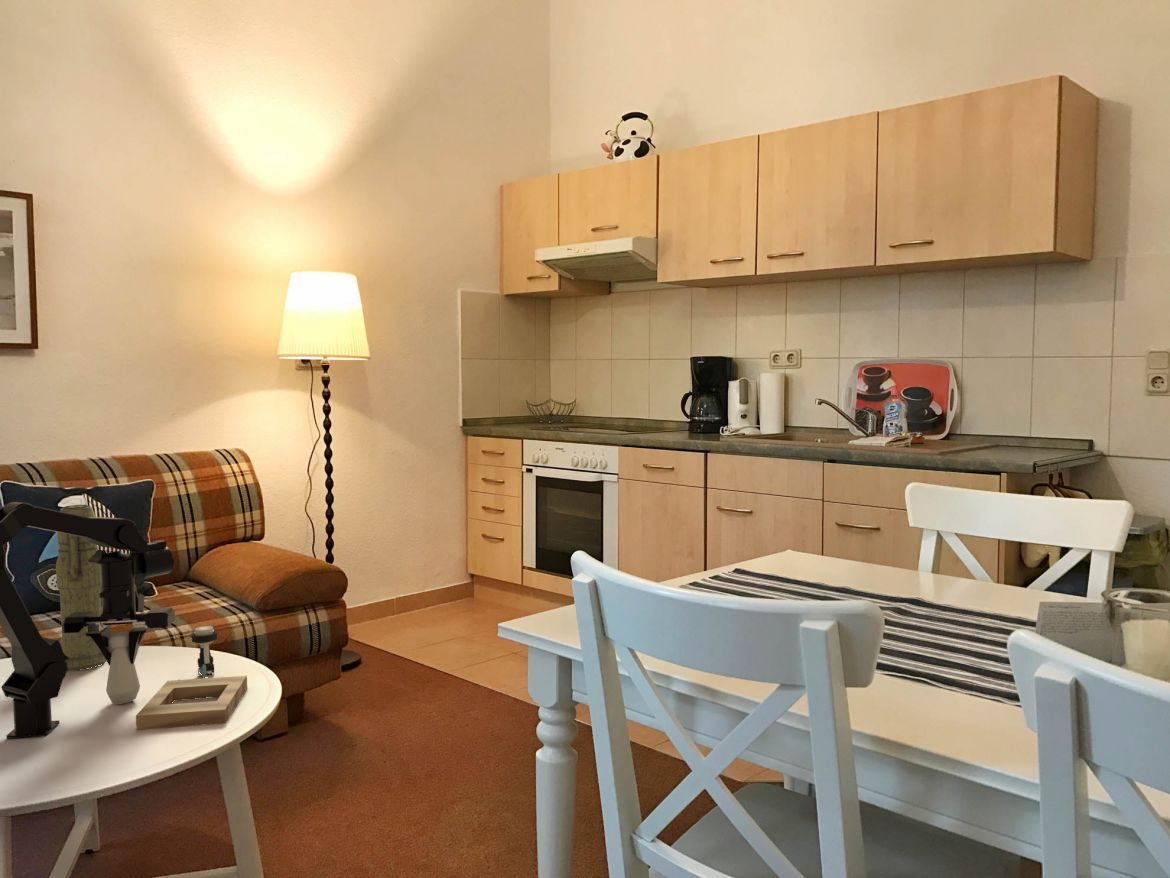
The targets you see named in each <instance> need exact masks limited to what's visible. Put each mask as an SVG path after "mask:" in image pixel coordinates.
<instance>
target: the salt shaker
mask: <svg viewBox="0 0 1170 878" xmlns="http://www.w3.org/2000/svg"><path fill="white" fill-rule="evenodd" d="M108 645H109V647H111V648H112V654H111V662H110V665H109V668H108V675H107V681H106V688H105V691H106V694H107V696H108V698H109V700H110V703H112V704H117V705H119V704H120V705H121V704H127V703H131V702H133V701H134V700H136V699H137V697H138V693H139V691H140V687H141V684H140V681H139V676H138V673H137V668H136V665H135V662H134V663H133V664H131V662H130V658H129V631H120V632H114V633H112V634H111V635H110V636H109V637H108Z"/></svg>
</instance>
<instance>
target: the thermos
mask: <svg viewBox="0 0 1170 878" xmlns="http://www.w3.org/2000/svg"><path fill="white" fill-rule="evenodd" d="M59 511H60V512H65V513H70V514H75V515H79V516H84V517H97V516H96V514H95V511H94V510H93V506H89V504H71V505H66V506H63V507H61V508H60V509H59ZM56 534H57V535H56V536H57V544H58V547H59V548H58V552H57V553H58V555H57V559H56V562H55V572H56V573H55V576H56V577H55V578H56V589H57V590H58V592H59V603H60V621H61V622H60V623H61V625H62V622H63V620H64V619H65V618H66V617H67V616H69V615H70V614H72V613H74V612H86V611H93V612H94V614H95V616H101V614H102V598H100V592H101V572H100V564H94V563H89V562H88V560H89V559H90V558H91V557H92V556H93V555H94V554H95V553H96V551H97V550H99V546H98V545H96V544H93V543H91V542H88V541H86V540H84V539H83V538H80V537H78V536H75V535H70V534H65V533H59V532H56ZM85 633H87V626H84V628H83V629H82V630H81V631H80V632H77V633H62V632H61V639H60V641H59V642H60V644H61V647H62V650H63V653H64V654H65V655H66V656H67V657H69V659H68V660H65V661H66V662H67V665H68V671H69V670H76V671H81V670H80V669H86V668H91V667H95V666H98V665H101V664H103V663H105V662H106V663H107V661H106V659H105V657H104V656H103V654H102V652H101V650H100V649H99V647H98V646H97V644H96V643H95V642H94V641H93V639H92V638H91V637H90V636H86V635H85ZM106 663H105V664H106ZM101 666H102V665H101ZM95 668H96V667H95ZM91 669H92V668H91ZM86 670H87V669H86Z"/></svg>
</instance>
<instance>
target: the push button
mask: <svg viewBox="0 0 1170 878" xmlns="http://www.w3.org/2000/svg"><path fill="white" fill-rule="evenodd" d="M218 634H219V631H218V630H217V629H214V626H212V625H211V626H210V625H206V626H205V625H204V626H199V627H196V628H195V629H194V632H191V633H190V634H189V635H190V638H191V642H192V643H195V645H200V647H199V657H198V658H197V667H198V668H197V676H198V675H199V676H200V673H201V674H202V676H203V677H204V678H205V677H208V678H213V677H212V676H214V674H215V664H214V656H212V652H211V647H210V644H212V643H214V642H215V641H216V640H217V639H218ZM199 672H200V673H199ZM213 673H214V674H213ZM202 676H201V677H202ZM203 677H202V678H203Z"/></svg>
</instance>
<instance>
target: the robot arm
mask: <svg viewBox="0 0 1170 878" xmlns="http://www.w3.org/2000/svg"><path fill="white" fill-rule="evenodd" d="M27 527H29V528H32V529H33V528H34V529H39V530H43V531H48V532H49V531H50V532H54V533H57V532H59V533H65V534H70V535H75V536H78V537H80V538H83V539H84V540H86V541H88V542H91V543H93V544H96V545H97V546H98V547H101V548H107V549H114V550H115V549H116V551H110V552H106V550H103V549H98V550H97V551H96V553H95V554H94V555H93V556H92V557H91V558H90V559H89V560H88V562H89V563H94V564H100V572H101V587H100V588H101V592H100V598H101V608H102V614H101V616H95V614H94V612H93V611H86V612H74V613H72V614H70V615H69V616H67V617H66V618H65V619H64V620H63V622H62V624H61V634H62V633H77V632H80V631H81V630H82V629H83V628H84V626H87V633H85V635H86V636H90V637H91V638H92V639H93V641H94V642H95V643H96V644H97V646H98V647H99V649H100V650H101V652H102V654H103V656H104V657H105V659H106V663H107V665H108V666H110V662H111V654H112V648H111V647H109V645H108V637H109V636H110V635H112V634H111V633H112V626H118V625H132V626H133V627H132V628H131V629H130V630H129V631H128V632H129V658H130V662H131V664H133V663H134V664H135V662H136V658H137V655H138V652H139V648H140V645H141V642H142V639H143V637H144V635H145V633H147V632H149V631H150V630H151V629H163V628H169V627H170V625H172V624H173V623H174V622H175V621H176V614H175V613H176V612H175V610H174V609H173V607H172V606H168V607H167V606H164V607H152V608H151V609H150V610H149V611H147V612H145V613H143V612H144V610H145V608H144V607H145V595H143V593H139V592H138V588H137V585H136V584H135V583H136V582H135V577H136V578H138V579H140V580H143V579H147V578H153V577H157V576H158V577H159V576H163V575H167V574H168V575H169V574H170V573H171V572H172V571H173V570H174V566H175V557H174V556H173V553H172V551H171V549H170V548H169V547H168V546H167V541H166V540H160V539H159V540H153V541H151V542H146V541H147V540H145V539H144V538H143V537H142V535H141V534H140V533H139V531H138V527H137V526H136V522H134V521H133V520H131V519H129V518H120V517H118V518H117V517H109V516H107V517H106V516H105V517H104V516H96V517H84V516H79V515H75V514H70V513H65V512H60V510H55V509H50V508H45V507H40V506H37V505H33V504H31V503H28V502H21V501H20V502H18V501H12V502H8V503H7V504H4V506H2V507H0V627H1V629H2V631H3V632H4V634H5V637H6V638H7V640H8V642H9V644H10V645H11V663H12V666H13V669H14V670H13V672H12V673H11V674H10V675H9V676H8V678H7V679H6V680H5V682H4V683H3V684H2V685H1V688H0V689H1V691H2V693H3V695H4V696H5V697H7V698H12V708H13V709H12V710H13V711H12V712H13V725H14V727H13V729H12V730H11V731H10V732H8V733H7V734H6V735H5V736H6V737H7V738H6V739H10V738H9V737H19V738H30V737H31V738H32V737H43V736H47V735H48V734H49V733H50V732H52V731H53V730H54V729H55V728H56V727H57V726H58V725H60V720H52V703H51V702H52V700H51V699H55V698H57V697H58V696H59V694H60V690H61V688H62V683H63V680H64V679H65V677H66V676H67V672H68V671H69V670H68V665H67V662H66V661H65V660H68V659H69V657H67V656H66V655H65V654H64V653H63V650H62V647H61V644H60V641H59V640H57V639H53V638H50V637H46V636H42V634H41V633H40V632H39V629H38V628H37V626H36V624H35V622H34V620H33V619H32V617H31V614H30V613H29V611H28V609H27V607H26V605H25V603H24V601H23V599H22V598H21V595H20V593H19V592H18V590H17V588H16V585H14V583H13V580H12V579H11V577H10V575H9V574H8V571H7V569H6V551H5V550H6V549H5V548H4V547H5V546H4V545H6V544H7V543H9V542H10V541H12V540H14V538H16V537H17V535H18V534H20V532H22V530H23V529H25V528H27ZM122 551H126V552H127V551H129V553H124V552H122Z"/></svg>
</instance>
